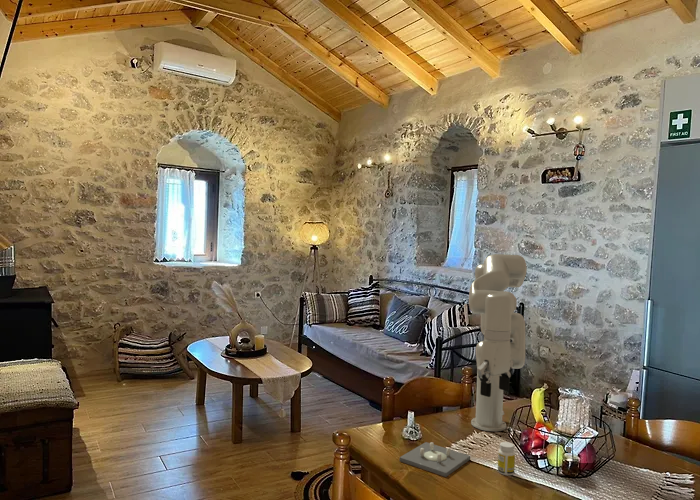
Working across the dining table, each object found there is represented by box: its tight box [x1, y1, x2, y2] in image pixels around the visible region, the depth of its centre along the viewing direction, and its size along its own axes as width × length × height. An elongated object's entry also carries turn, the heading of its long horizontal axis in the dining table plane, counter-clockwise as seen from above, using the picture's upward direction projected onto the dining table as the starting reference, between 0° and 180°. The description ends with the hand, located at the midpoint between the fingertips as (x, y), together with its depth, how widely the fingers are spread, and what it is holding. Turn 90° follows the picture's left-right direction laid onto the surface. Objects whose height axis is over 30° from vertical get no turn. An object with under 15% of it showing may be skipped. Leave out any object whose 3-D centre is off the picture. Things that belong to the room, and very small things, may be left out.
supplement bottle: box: [497, 441, 516, 476], centre depth 159 cm, size 5×5×8 cm
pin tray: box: [399, 441, 471, 478], centre depth 166 cm, size 16×16×4 cm
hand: (494, 392), depth 158 cm, fingers open, 9 cm apart
